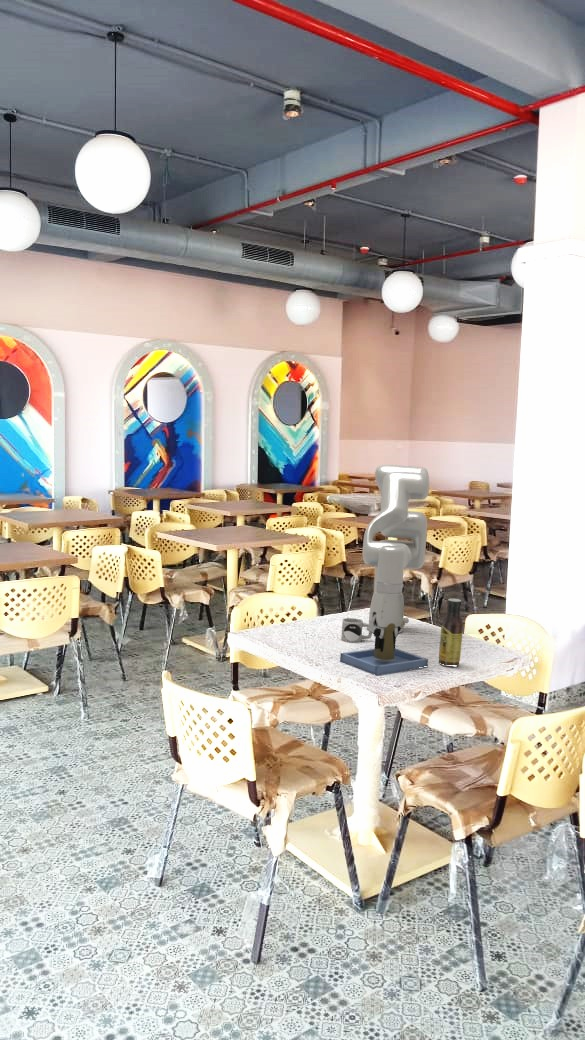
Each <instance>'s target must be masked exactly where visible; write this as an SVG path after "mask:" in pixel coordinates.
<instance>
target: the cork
mask: <svg viewBox="0 0 585 1040" xmlns="http://www.w3.org/2000/svg"><path fill="white" fill-rule="evenodd" d="M378 630H379V632H380V629H378ZM394 630H395V624H393V623H391V624H389V625H388V626H387V627H386V628H384V634H383V638H384V648H383V652H381V651H380V648H379V649H376V650H375V652H374V657H375V658H377V659H382V660H392V659H394V642H393V631H394Z"/></svg>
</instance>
